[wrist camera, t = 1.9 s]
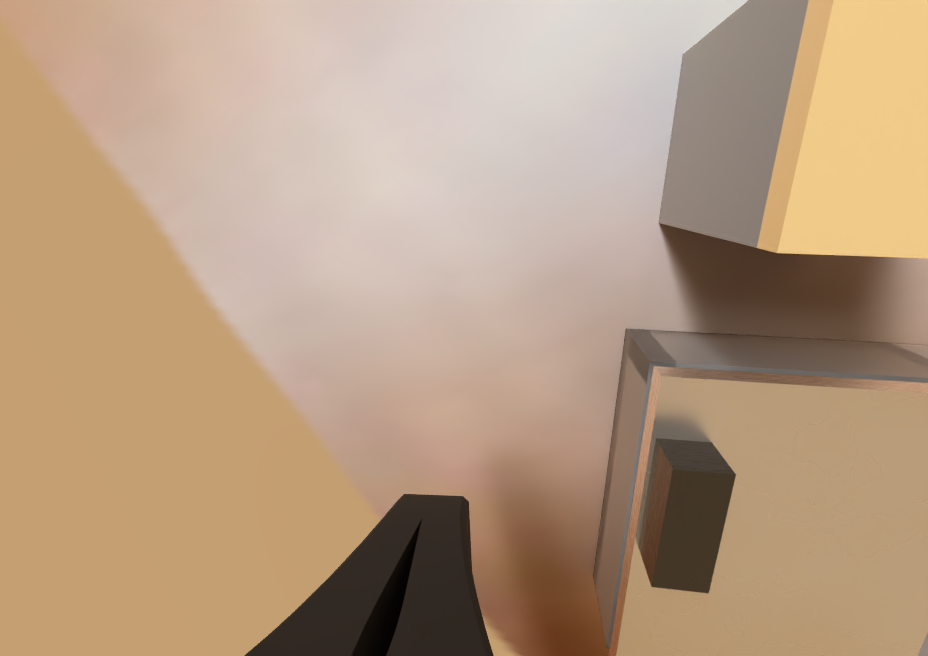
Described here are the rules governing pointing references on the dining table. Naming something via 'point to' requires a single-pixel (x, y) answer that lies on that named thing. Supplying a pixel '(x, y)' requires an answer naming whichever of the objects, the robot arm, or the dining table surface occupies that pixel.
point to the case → (716, 355)
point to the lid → (777, 518)
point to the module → (806, 129)
